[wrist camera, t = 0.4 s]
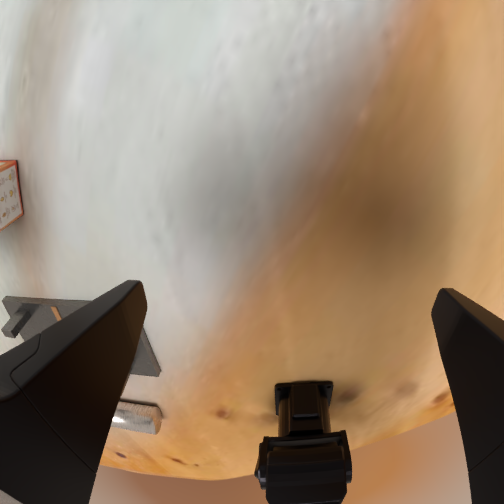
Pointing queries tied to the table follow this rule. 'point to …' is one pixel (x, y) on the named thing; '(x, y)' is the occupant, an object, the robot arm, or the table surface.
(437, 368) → the table surface
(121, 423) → the tube
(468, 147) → the table surface
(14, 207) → the cracker box
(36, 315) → the stand
